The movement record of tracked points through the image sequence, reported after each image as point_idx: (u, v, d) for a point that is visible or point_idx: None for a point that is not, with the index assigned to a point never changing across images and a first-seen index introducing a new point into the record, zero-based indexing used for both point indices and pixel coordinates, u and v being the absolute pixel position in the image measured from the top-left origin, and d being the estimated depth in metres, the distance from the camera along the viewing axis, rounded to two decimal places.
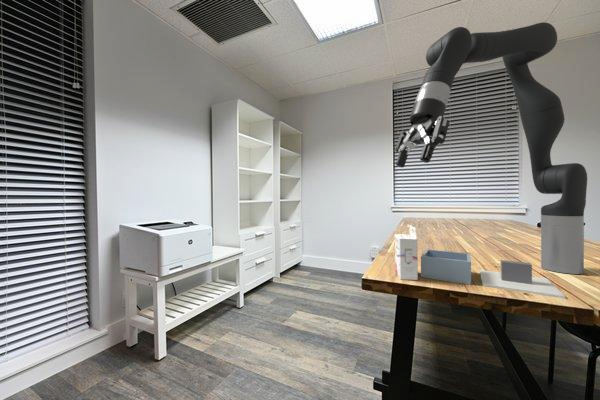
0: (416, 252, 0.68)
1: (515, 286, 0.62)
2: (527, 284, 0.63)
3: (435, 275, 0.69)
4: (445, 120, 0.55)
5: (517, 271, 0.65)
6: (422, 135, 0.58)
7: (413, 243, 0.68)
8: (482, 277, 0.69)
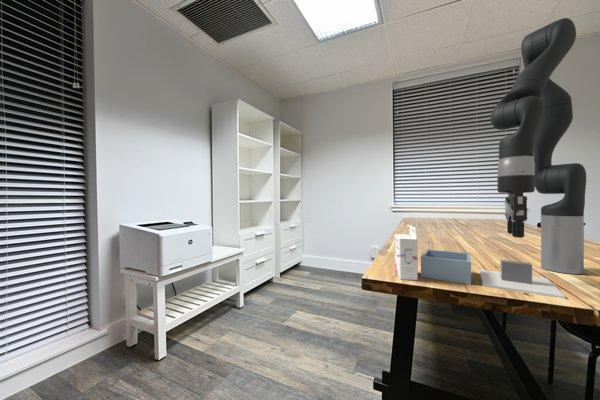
0: (416, 252, 0.68)
1: (516, 286, 0.62)
2: (527, 284, 0.63)
3: (435, 275, 0.69)
4: (520, 198, 0.60)
5: (517, 271, 0.65)
6: (508, 212, 0.64)
7: (413, 243, 0.68)
8: (482, 277, 0.69)
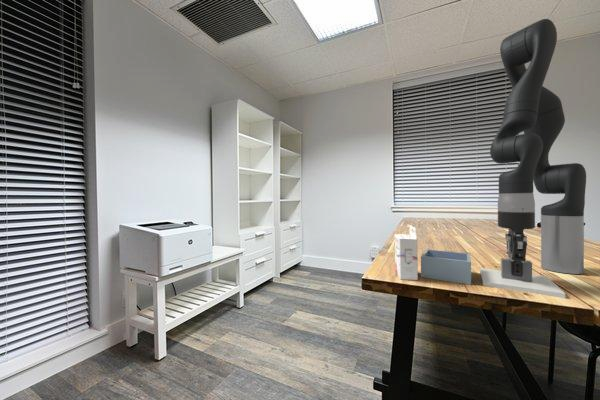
0: (416, 252, 0.68)
1: (516, 283, 0.62)
2: (527, 282, 0.63)
3: (435, 275, 0.69)
4: (520, 245, 0.61)
5: None
6: (508, 249, 0.66)
7: (413, 243, 0.68)
8: (482, 275, 0.69)
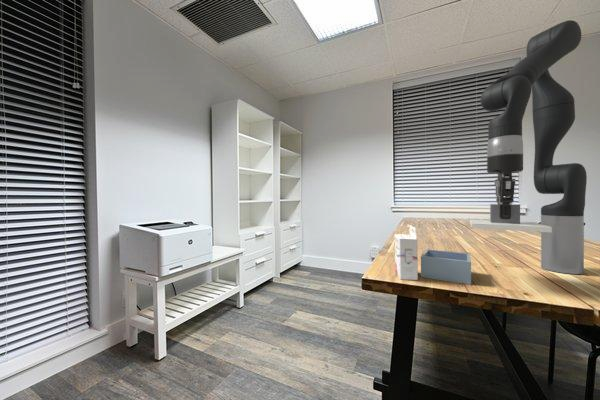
0: (416, 252, 0.68)
1: (504, 224, 0.63)
2: (515, 223, 0.64)
3: (435, 275, 0.69)
4: (508, 184, 0.61)
5: None
6: (497, 193, 0.66)
7: (413, 243, 0.68)
8: (472, 221, 0.70)
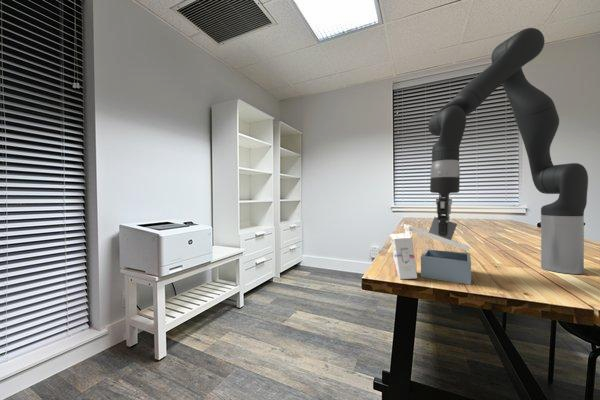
0: (412, 250, 0.68)
1: None
2: (447, 238, 0.70)
3: (435, 275, 0.69)
4: (442, 204, 0.68)
5: None
6: None
7: (408, 242, 0.69)
8: None
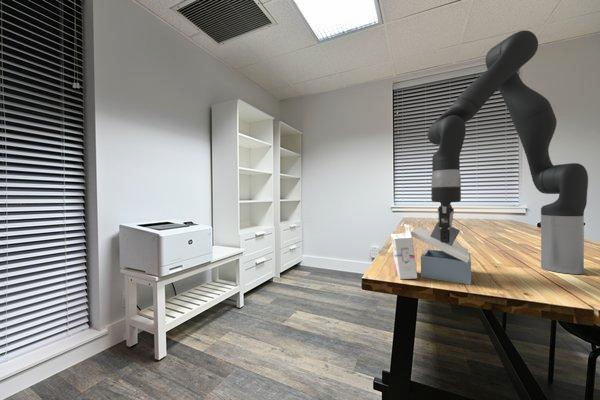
0: (412, 250, 0.68)
1: (437, 242, 0.69)
2: (447, 244, 0.71)
3: (435, 275, 0.69)
4: (444, 208, 0.67)
5: None
6: (438, 220, 0.71)
7: (408, 241, 0.69)
8: (416, 229, 0.76)
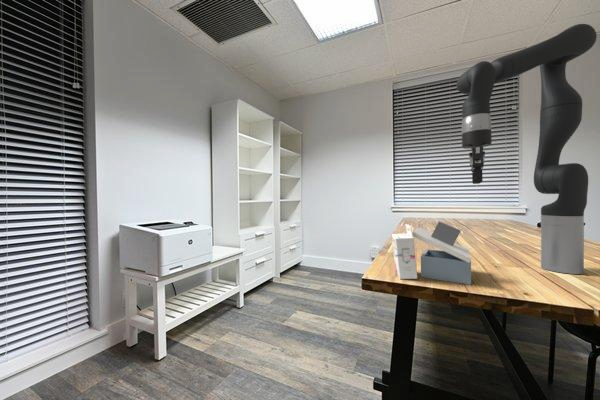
0: (413, 251, 0.68)
1: (438, 242, 0.69)
2: (448, 245, 0.70)
3: (435, 275, 0.69)
4: (477, 148, 0.71)
5: (446, 233, 0.71)
6: (470, 162, 0.75)
7: (409, 242, 0.68)
8: (416, 230, 0.76)
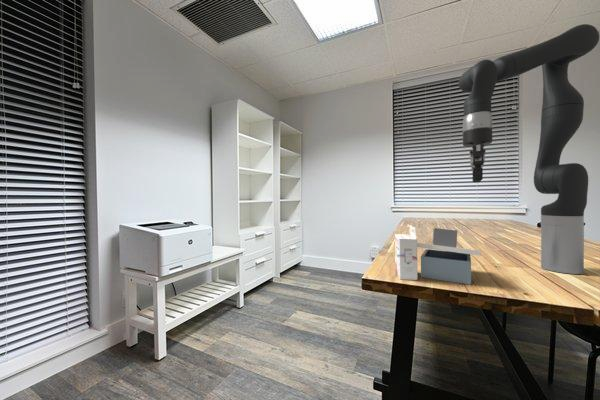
0: (416, 252, 0.68)
1: None
2: (452, 247, 0.71)
3: (435, 275, 0.69)
4: (478, 146, 0.71)
5: (445, 236, 0.72)
6: (470, 160, 0.75)
7: (413, 243, 0.68)
8: None
